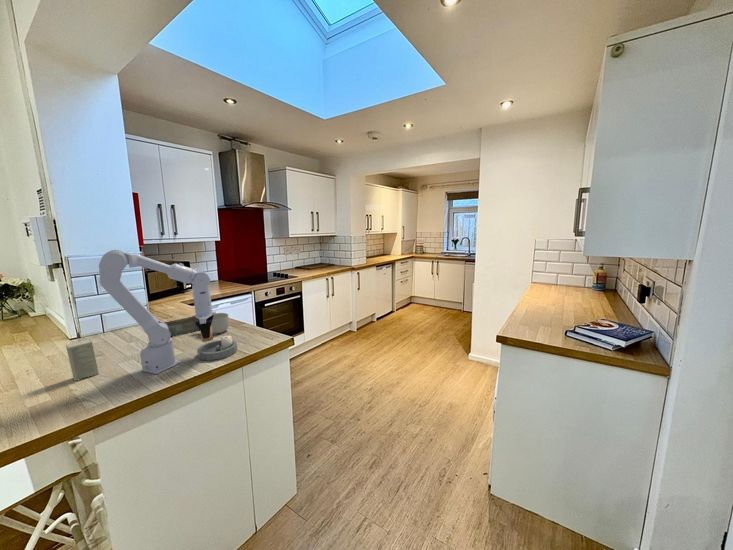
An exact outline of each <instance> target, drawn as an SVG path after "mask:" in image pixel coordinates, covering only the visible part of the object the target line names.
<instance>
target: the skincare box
mask: <svg viewBox="0 0 733 550" xmlns="http://www.w3.org/2000/svg"><path fill="white" fill-rule="evenodd" d="M65 349H66V352H67V355H68V360H69V365H70V370H71V373H72V379H73V380H74V381H75V380H78V379H81V380H83V379H82V378H85V377H88V378H90V377H89V376H91V377H94V376H97V375H99V374H100V373H99V369H98V363H97V359H96V355H95V350H94V345H93V341H92V339H91V338H89V339H88V338H87V339H84V340H80V341H76V342H72V343H68V344H65ZM93 375H94V376H93ZM85 379H86V378H85ZM78 381H79V380H78Z"/></svg>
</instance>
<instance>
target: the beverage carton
mask: <svg viewBox="0 0 733 550" xmlns="http://www.w3.org/2000/svg"><path fill="white" fill-rule="evenodd" d="M196 321H198V318H196V317H195V315H193V316H188V317H185V318H179V319H174V320H169V321H165V322H164V321H163V323H166V324H167V325H168V327H169V331H170V333H171V336H172V337H175V336H176V335H177V336H180V334H181V335H184V334H189V332H190V333H194V332H198V331H200V329H199V328H198V326H197V325H196ZM193 331H194V332H193Z"/></svg>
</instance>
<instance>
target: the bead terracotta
mask: <svg viewBox="0 0 733 550" xmlns="http://www.w3.org/2000/svg"><path fill="white" fill-rule="evenodd" d="M199 331H200V330H199ZM213 335H214V334H212V326H211V327H210V337H209V338H206V339H203V337H202V334H201V331H200V339H201V342H202V343H209V342H212V341H214V336H213Z"/></svg>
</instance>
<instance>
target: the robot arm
mask: <svg viewBox="0 0 733 550" xmlns="http://www.w3.org/2000/svg"><path fill="white" fill-rule="evenodd" d="M127 265H128V267H129V268H130V269H131V268H136V267H137V268H138V267H141V268H144V269H145V268H146V269H149V270H152V271H156V272H160V273H163V274H166V275H167V277H168V279H171V280H174V281H178V282H181V283H184V284H191V285H192V290H193V291H192V296H193V297H192V298H193V304H194V311H195V314H194V316H195V317H196V318H198V321H196V325H197V326H198V328H199V329H200V330H199V331H201V332H200V335H201V334H202V337H203V339H206V338H209V337H210V327H211V323H212V321H213V320H212V319H213V317H214V314H216V313H217V311H213V306H212V299H211V297H212V296H211V290H210V283H211V278H210V276H209V274H207V273H205V272H204V271H201V270H198V268H196V267H194V268H191V267H188V266H185V265H184V263H181V262H179V263H177V262H176V263H173V264H166V263H164V262H161V261H158V260H155V259H153V258H149V257H147V256H144V255H140V254H137V253H133V252H129V251H128V252H127V251H125V252H124V251H122V250H119V249H113V250H108V251H106V253H104V254H103V255H102V256H101V259H100V261H99V263H98V269H99V270H98V272H99V284H100V287H102V288H103V289H104V291H106V292H107V293H108V294H109V295H110V296H111V297H112V299H113V300H114V301H115V302H117V304H118V305H120V307H122V309H124V310H125V312H127V314H128V315H129V316H131V318H133V320H134V321H135V322H137V324H138V325H139V326H140V327H141V328H142V330H143V332H144V333H145V334H146V335H147V336H148V342H147V346H146V347H144V348H143V349H141V350H140V355H139V356H140V362H141V369H140V370H141V372H145V373H149V374H153V375H157V374H158V375H159V374H160V373H163V372H164V371H165V370H168V369H170V368H173V367H174V366H176V365H180V364H181V363H182V361H181V360H177V359H176V355H175V347H174V341H173V338H171V333H170V331H169V327H168V325H167V324H166V323H164V321H161V320H159V319H158V318H157V317H155V316H154V315H153V313H151V312H150V310H149V309H148V308H146V306H144V304H143V303H142V302H141V301H140V300H139V299H138V298H137V297H136V296H135V295H134V293H133V292H132V291H130V289H129V288H128V287H127V286H126V285H125V284H124V283H123V282H122V281H121V279H122V274H123V271H124V270H125V269H126V267H127Z"/></svg>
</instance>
